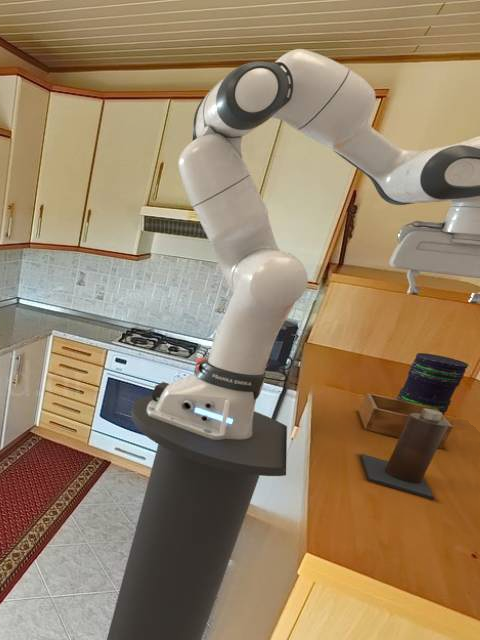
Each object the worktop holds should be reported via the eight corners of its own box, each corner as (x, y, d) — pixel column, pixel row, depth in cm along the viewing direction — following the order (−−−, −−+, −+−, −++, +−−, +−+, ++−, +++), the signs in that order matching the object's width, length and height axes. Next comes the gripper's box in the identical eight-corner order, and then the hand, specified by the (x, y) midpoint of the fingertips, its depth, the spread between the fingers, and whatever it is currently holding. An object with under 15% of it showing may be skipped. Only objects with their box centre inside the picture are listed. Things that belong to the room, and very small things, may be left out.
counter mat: (368, 480, 88) (369, 477, 88) (360, 456, 97) (361, 453, 97) (432, 499, 83) (434, 496, 83) (417, 472, 93) (419, 469, 93)
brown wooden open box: (365, 429, 112) (374, 408, 110) (358, 411, 123) (366, 392, 121) (442, 449, 105) (453, 426, 103) (427, 428, 116) (437, 408, 114)
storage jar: (403, 417, 122) (429, 360, 117) (384, 403, 131) (408, 350, 126) (451, 425, 120) (479, 368, 114) (428, 411, 129) (454, 357, 123)
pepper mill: (377, 468, 91) (406, 405, 87) (399, 468, 93) (428, 405, 88) (405, 483, 87) (437, 417, 82) (428, 483, 88) (460, 417, 83)
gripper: (407, 219, 94) (379, 290, 99) (557, 231, 84) (518, 310, 89) (401, 220, 99) (375, 288, 104) (542, 231, 89) (505, 306, 94)
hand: (442, 298), depth 96 cm, fingers open, 8 cm apart
